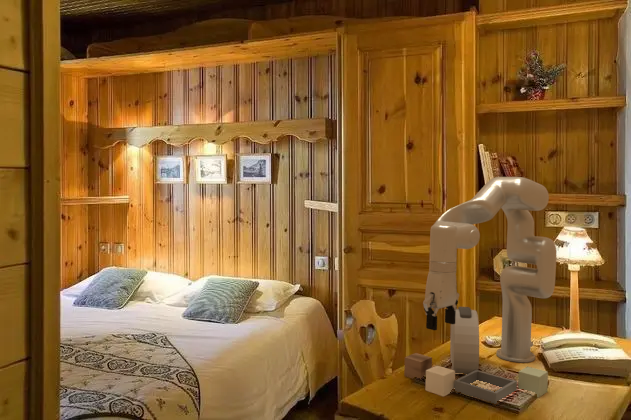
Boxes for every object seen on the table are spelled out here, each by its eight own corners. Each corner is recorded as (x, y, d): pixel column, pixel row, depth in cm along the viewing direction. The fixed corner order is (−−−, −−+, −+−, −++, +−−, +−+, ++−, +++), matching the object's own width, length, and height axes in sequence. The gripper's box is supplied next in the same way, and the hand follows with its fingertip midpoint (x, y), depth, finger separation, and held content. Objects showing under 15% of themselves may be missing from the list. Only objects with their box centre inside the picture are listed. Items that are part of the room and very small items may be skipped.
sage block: (526, 386, 158) (527, 366, 157) (547, 392, 153) (547, 371, 153) (518, 391, 154) (518, 371, 153) (538, 397, 149) (539, 376, 149)
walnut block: (415, 371, 169) (415, 352, 169) (431, 376, 165) (432, 357, 165) (404, 376, 165) (404, 357, 165) (420, 381, 161) (421, 362, 160)
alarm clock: (478, 380, 161) (480, 316, 160) (453, 378, 163) (454, 315, 162) (472, 358, 182) (473, 301, 181) (450, 356, 184) (451, 300, 183)
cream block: (436, 385, 158) (437, 365, 157) (454, 390, 154) (455, 370, 153) (425, 390, 154) (425, 370, 153) (443, 396, 149) (443, 375, 149)
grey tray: (476, 381, 161) (476, 369, 161) (516, 393, 152) (516, 381, 152) (454, 392, 152) (454, 380, 152) (495, 405, 143) (496, 393, 143)
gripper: (447, 263, 160) (445, 318, 161) (414, 268, 148) (412, 329, 149) (469, 266, 155) (468, 323, 156) (437, 272, 143) (435, 334, 144)
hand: (440, 326), depth 152 cm, fingers open, 9 cm apart
